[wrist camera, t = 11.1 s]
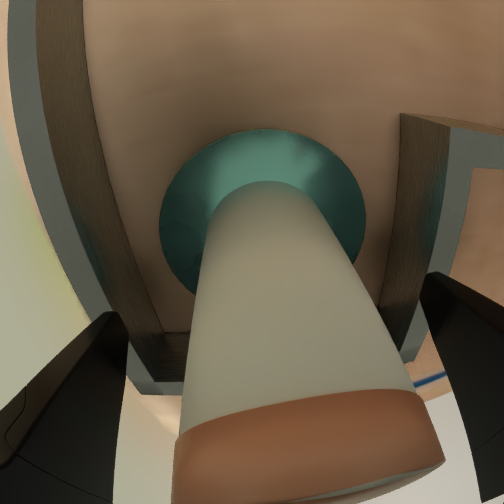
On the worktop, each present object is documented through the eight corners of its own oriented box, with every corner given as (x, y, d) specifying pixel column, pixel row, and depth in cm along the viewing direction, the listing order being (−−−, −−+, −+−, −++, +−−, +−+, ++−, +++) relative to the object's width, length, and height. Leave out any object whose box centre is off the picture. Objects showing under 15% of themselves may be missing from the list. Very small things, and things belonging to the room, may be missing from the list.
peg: (324, 173, 10) (500, 420, 2) (323, 277, 12) (394, 491, 4) (195, 188, 10) (113, 489, 2) (216, 289, 12) (208, 520, 4)
